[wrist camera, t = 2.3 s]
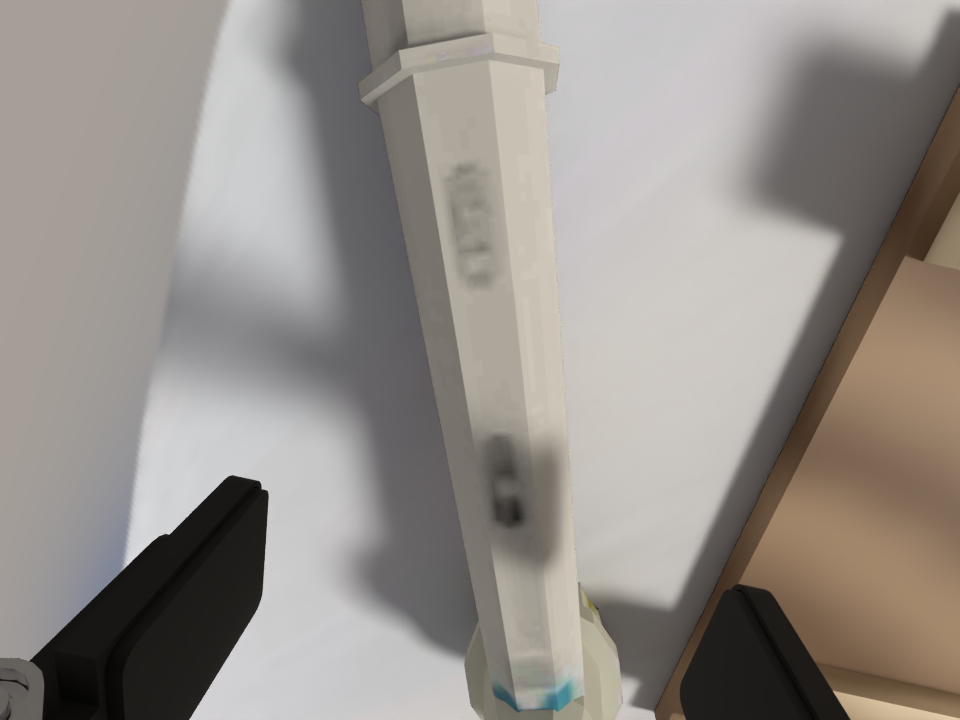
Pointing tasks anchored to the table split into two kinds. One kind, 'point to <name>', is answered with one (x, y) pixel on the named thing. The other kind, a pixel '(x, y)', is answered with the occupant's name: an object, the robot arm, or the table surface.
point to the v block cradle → (875, 479)
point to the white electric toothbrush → (493, 335)
